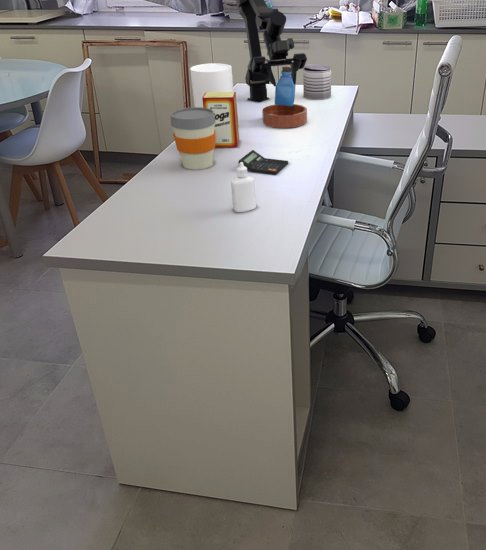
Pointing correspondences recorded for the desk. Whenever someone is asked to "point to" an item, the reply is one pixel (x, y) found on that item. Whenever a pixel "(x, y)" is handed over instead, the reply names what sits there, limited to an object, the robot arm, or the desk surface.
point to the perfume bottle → (285, 88)
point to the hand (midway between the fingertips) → (285, 84)
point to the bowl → (284, 116)
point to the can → (317, 82)
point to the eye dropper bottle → (243, 190)
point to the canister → (210, 80)
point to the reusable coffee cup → (194, 136)
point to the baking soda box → (223, 117)
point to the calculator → (262, 163)
